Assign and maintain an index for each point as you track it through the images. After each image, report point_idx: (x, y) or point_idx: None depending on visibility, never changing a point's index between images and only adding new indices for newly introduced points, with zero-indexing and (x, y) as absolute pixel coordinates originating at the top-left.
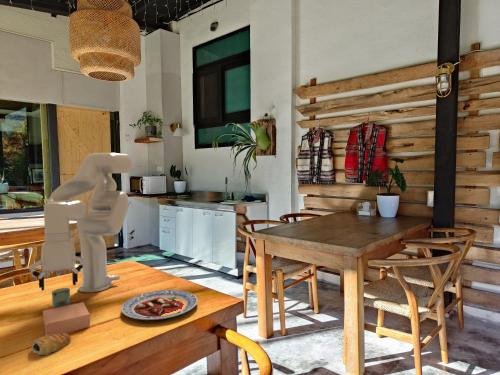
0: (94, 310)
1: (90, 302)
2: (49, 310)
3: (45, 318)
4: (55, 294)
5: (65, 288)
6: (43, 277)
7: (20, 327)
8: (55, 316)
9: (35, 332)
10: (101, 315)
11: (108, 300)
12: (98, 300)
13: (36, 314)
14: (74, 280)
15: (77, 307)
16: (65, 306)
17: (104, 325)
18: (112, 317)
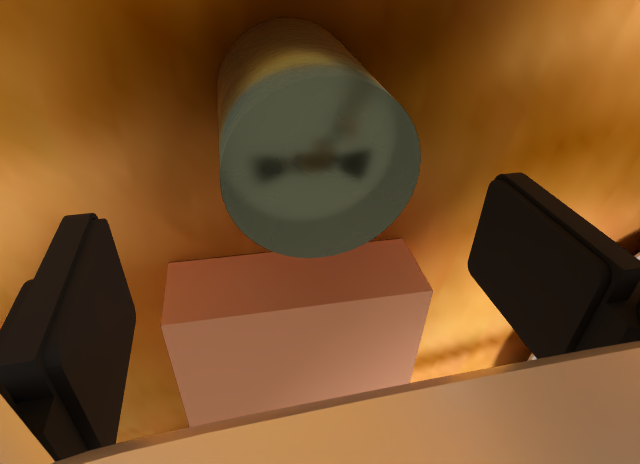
0: (465, 218)
1: (516, 42)
2: (208, 337)
3: (195, 420)
4: (259, 237)
5: (386, 122)
6: (71, 392)
7: (22, 268)
8: (247, 414)
9: (143, 352)
10: (461, 294)
11: (618, 83)
12: (579, 32)
13: (72, 69)
14: (507, 310)
15: (375, 351)
16: (314, 312)
17: (426, 379)
18: (485, 330)
